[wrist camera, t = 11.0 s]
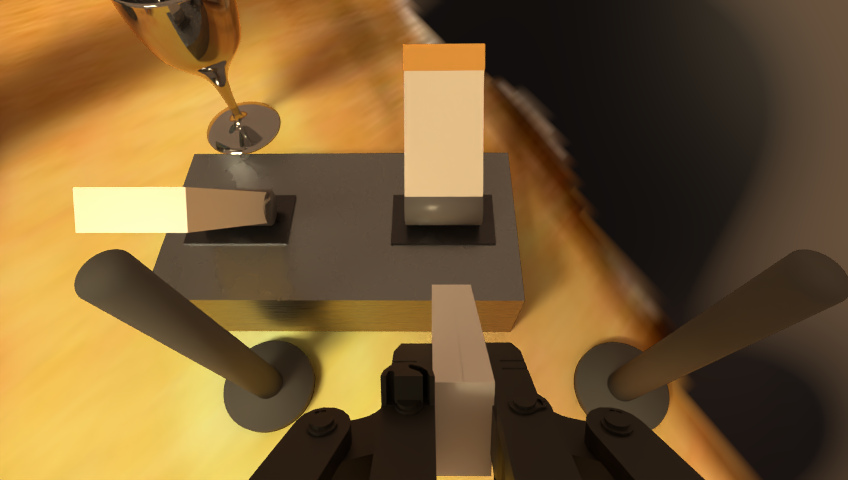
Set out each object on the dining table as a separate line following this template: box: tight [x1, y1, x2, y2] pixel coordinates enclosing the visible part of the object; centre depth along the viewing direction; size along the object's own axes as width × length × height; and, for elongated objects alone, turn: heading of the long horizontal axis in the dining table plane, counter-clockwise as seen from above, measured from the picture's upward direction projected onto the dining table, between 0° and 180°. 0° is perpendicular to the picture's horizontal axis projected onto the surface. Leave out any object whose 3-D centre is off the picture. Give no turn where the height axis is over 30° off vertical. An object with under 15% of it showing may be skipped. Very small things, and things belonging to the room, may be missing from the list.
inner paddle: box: [73, 187, 277, 233], centre depth 25 cm, size 2×5×11 cm
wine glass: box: [111, 0, 280, 154], centre depth 37 cm, size 8×8×15 cm
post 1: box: [74, 249, 315, 433], centre depth 23 cm, size 6×6×18 cm
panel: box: [153, 153, 525, 332], centre depth 33 cm, size 12×24×6 cm, turn 89°
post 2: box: [574, 250, 848, 430], centre depth 22 cm, size 6×6×18 cm
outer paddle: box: [403, 44, 485, 225], centre depth 29 cm, size 2×5×11 cm
